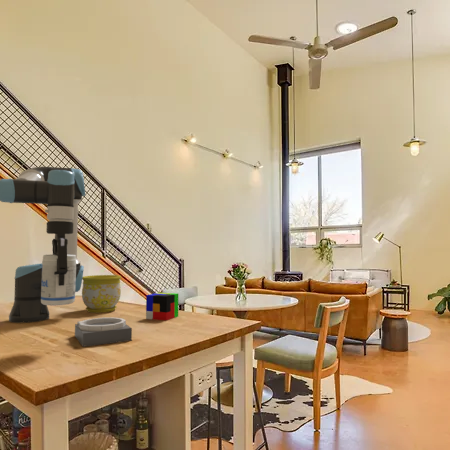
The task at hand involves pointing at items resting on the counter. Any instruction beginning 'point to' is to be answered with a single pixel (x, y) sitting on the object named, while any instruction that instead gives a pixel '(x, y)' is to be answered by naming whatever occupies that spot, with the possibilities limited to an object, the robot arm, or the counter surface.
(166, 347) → the counter surface
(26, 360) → the counter surface
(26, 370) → the counter surface
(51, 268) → the supplement tub
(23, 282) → the robot arm
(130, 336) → the grey square ring block
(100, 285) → the flowerpot
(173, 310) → the puzzle toy
